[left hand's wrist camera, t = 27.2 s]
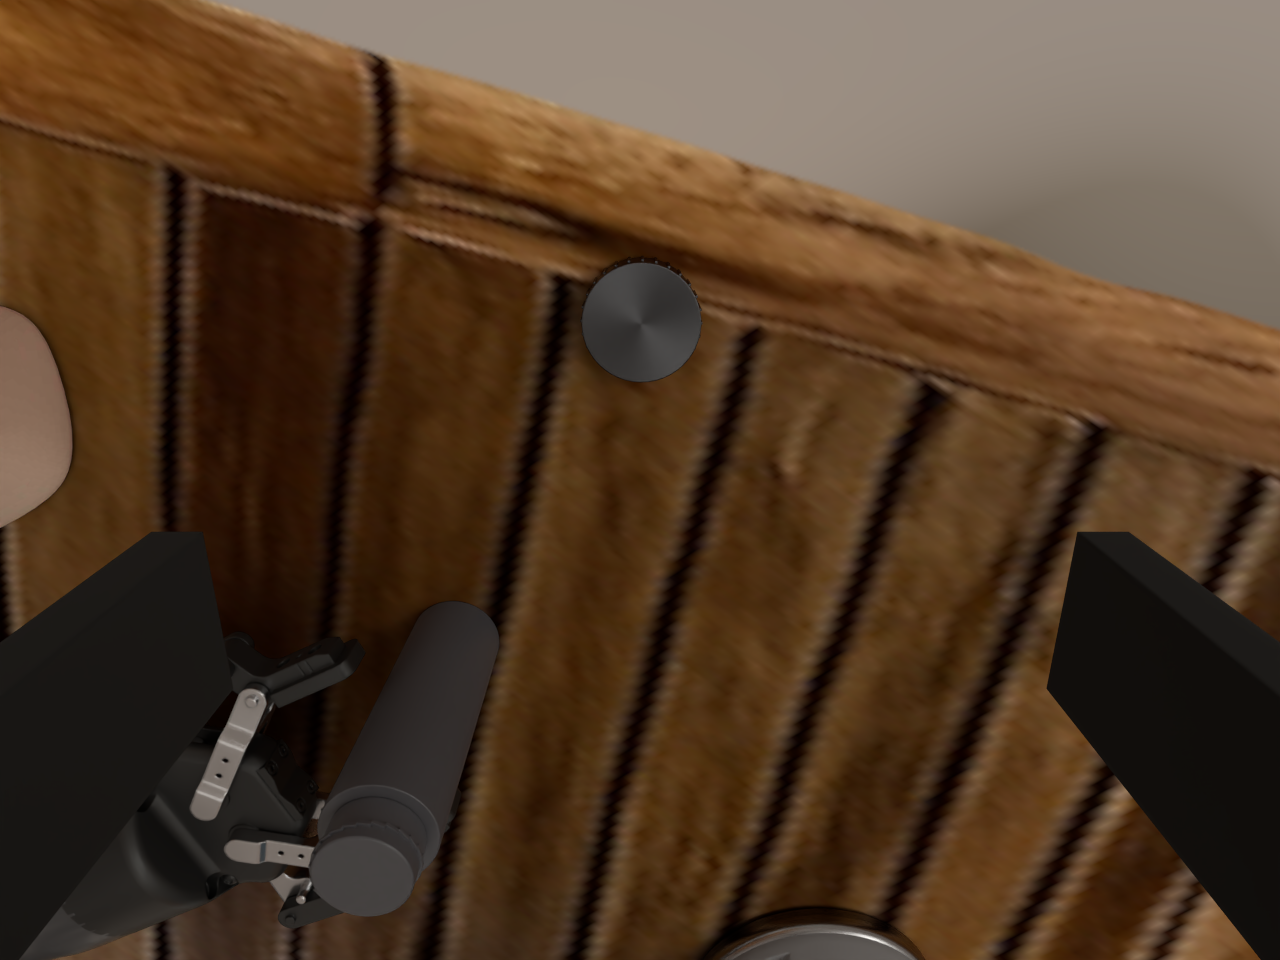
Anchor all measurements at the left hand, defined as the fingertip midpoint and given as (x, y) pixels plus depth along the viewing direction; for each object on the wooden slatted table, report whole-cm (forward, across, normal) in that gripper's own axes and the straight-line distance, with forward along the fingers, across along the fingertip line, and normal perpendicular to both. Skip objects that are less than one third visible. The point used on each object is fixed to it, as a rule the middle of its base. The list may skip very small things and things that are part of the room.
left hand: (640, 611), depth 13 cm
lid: (+24, 0, 0) cm, 24 cm away
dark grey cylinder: (+26, +10, +16) cm, 32 cm away
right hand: (+20, +10, +17) cm, 28 cm away
